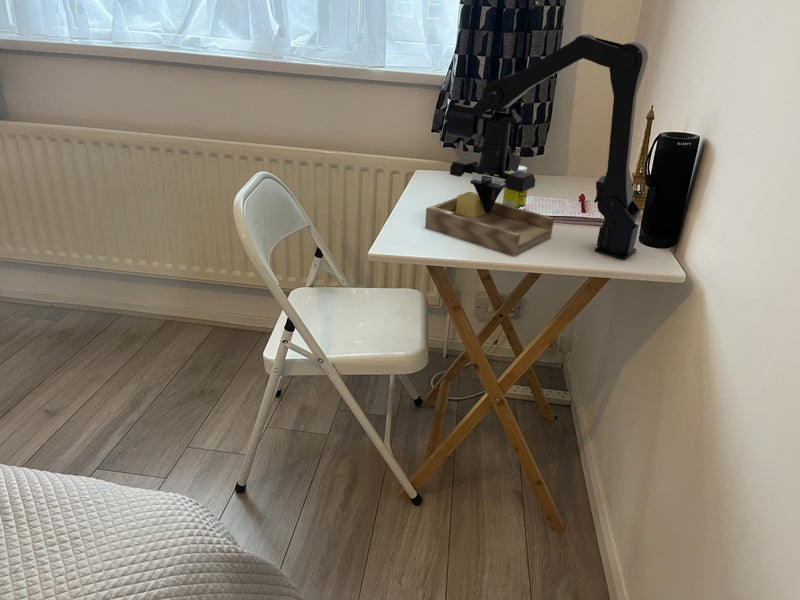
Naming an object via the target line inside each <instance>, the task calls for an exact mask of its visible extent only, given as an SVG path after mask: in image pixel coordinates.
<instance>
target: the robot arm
mask: <svg viewBox="0 0 800 600" xmlns="http://www.w3.org/2000/svg"><path fill="white" fill-rule="evenodd" d="M648 53H649V52H648V50H647V48H646V47H645V46H644V45H643V44H642V43H640V42H635V41H632V42H627V43H624V44H622V43H618V42H617V41H616V42H615V41H611V40H609V39H603V38H599V37H596V36H594V35H592V34H588V33H587V34H581V35H579V36H577V37H575V38H574V40H572V41H570V42H569V43H567V44H566V45H564V46H561V47H560V48H558V49H557V50H555V51H553V52H552V53H550V54H548V55H547V56H544V57H543V58H541V59H540V60H538V61H536V62H535V63H533V64H531V65H530V66H528V67H525V68H524V69H523V70H520V71H518V72H515V73H513V74H508V75H506V76H503V77H500V78H498V79H495V80H492V81H490V82H488V83H487V84H486V85H485V86H484V87H483V92H482V96H481V98H480V99H479V100H478V101H477V102H476V103H475V104H474V106H473V105H466V104H463V103H458V102H457V103H454V104H452V107H451V111H450V113H449V116H448V119H447V121H446V133H447V134H448V136H451V137H457V138H465V139H470V140H475V139H476V138H477V137H478V136H480V135H481V141H480V145H479V146H477V147H476V152H477V153H479V162H478V160H473V159H469V158H461V159H459V160H455V161H453V162H452V163H451V164H450V167H449V175H451V176H454V177H458V178H460V177H462V176H463V175H465V173H467V174H469V175H472V180H470V184H472V185H473V187H474V188H475V191H476V193H478V195H479V198H480V200H481V203H482V206H483V208H484V211H485V212H486V213H489V212H490V211H491V209H492V207H493V205H494V203H495V202H496V201H497V199H498V197H499V195H500V193H502V191H503V190H504V188H505V187H507V189H509V190H513V191H517V192H523V191H526V190H527V191H528V190H531V189H534V188H535V186H536V178H535V175H534V173H529V172H527V173H526V172H521V171H518V168H519V166H520V163H521V161H522V157H520V156H519V155H515V154H512V151H513V150H512V146H510V145H509V140H510V134H511V125H512V124H517V123H519V122H521V121H522V117H521V116H520V115H519V114H518V113H517V112H516V111H517V110H516V109H515V108H513V109H511V110H509V112H505V111H500V110H502V109H505V108H508V107H509V106H512V105H513V104H514V103H516V102H517V101H518V100H519V99H520V98H522V97H523V96H524V95H525V94H526V93H527V92H528V91H530V90H531V89H532V88H533V87H535V86H536V85H538V84H540V83H541V82H544V81H545V80H547V79H549V78H551V77H552V76H555V75H556V74H558V73H560V72H561V71H563V70H565V69H566V68H567V69H568V67H570V66H572V65H575V64H576V63H578V62H580V61H581V60H583V59H584V60H587V61H590V62H592V63H595V64H597V65H599V66H603V67H605V68H608V69H609V79H610V85H611V91H612V95H613V101H612V102H613V103H612V115H611V125H610V126H611V127H610V134H609V135H610V137H609V139H610V140H609V148H608V159H607V171H606V174H605V175H601V176H600V177H599V179H598V180H596V182H595V190H596V195H595V199H594V201H593V203H597V204H596V205H597V210H598V213H600V214H601V215H602V216H603V222H602V226H600V227H599V229H598V234H597V235H598V236H597V241H596V246H597V247H595V248H594V251H595V252H596V253H600V254H604V255H608V256H611V257H614V258H618V259H621V260H626V259H627V258H629V257H631V256H632V255H633V254H635V253H636V252H637V248H635V245H636V240H637V236H638V232H639V228H640V225H639V224H636V223H637V222H636V221H637V220H638V218H639V217H640V215H641V213H642V210H641V208H640V207H639V206H638V205H637V203H636V202H635V201H634V194H633V181H632V177H631V172H630V164H631V152H632V143H633V133H634V125H635V123H634V121H635V113H636V104H637V97H638V96H637V95H638V92H639V89H640V85H641V83H642V80H643V77H644V74H645V69H646V67H647V64H648V63H647V62H648V59H649V55H648ZM490 111H494V112H493V113H492V114H485V113H487V112H490ZM511 170H513V171H516V172H515V173H512V174H508V173H505V171H511ZM517 171H518V172H517ZM495 175H498V176H495Z"/></svg>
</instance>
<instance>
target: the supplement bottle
mask: <svg viewBox="0 0 800 600" xmlns="http://www.w3.org/2000/svg"><path fill="white" fill-rule="evenodd" d="M518 171H521V172H526V173H528V167H527V166H523V165H519V168H518ZM518 171H517V172H518ZM515 172H516V171H513V170H511V171H510V173H509V174H512V173H515ZM527 194H528V190H526V191H523V192H517V191H513V190H509V189H507V187H505V188H503V197H502V204H504V205H508V206H511V207H515V208H520V207H524V206H525V207H526V204H527V203H526V202H527V197H528V196H527Z"/></svg>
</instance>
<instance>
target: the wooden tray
mask: <svg viewBox="0 0 800 600" xmlns="http://www.w3.org/2000/svg"><path fill="white" fill-rule="evenodd" d="M456 206H457V197H455V198H452V199H449V200H446V201H443V202H441V203H438V204H435V205H431V206H429V207H426V208H425V209H426V210H425V224H424V225H425V227H424V228H425V229H429V230H432V231H434V232H436V233H437V232H438V233H440V234H443V235H447V236H451V237H453V238H456V239H460V240H462V241H465V242H468V243H471V244H475V245H478V246H481V247H484V248H486V247H487V248H486V249H490V250H493V251H495V252H500V253H502V254H505V255H508V256H510V257H511V256H512V257H517V256H519V255H521V254H522V253H524V252H526V251H528V250H531V249H532V248H534V247H535V246H538V245H540V244H541V243H543V242H546V241H547V240H548V241H549V239H551V238H552V233H553V226H554V222H555V221H554V220H555V218H554V217H553V216H548V215H544V214H540V213H537V212H533V211H530V210H525V209H524V210H522V209H519V208H515V207H511V206H508V205H504V204H503V203H500V202H496V201H495V203H494V205H493V207H492V209H491V211H490V212H489V213H486V214H483V215H481V216H478V217H476V218H472V217H468V216H465V215H461V214H458V213H456Z"/></svg>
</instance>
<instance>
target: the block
mask: <svg viewBox="0 0 800 600" xmlns="http://www.w3.org/2000/svg"><path fill="white" fill-rule="evenodd" d="M456 198H457V206H456V213H458V214H461V215H465V216H468V217H472V218H476V217H478V216H481V215H483V214H486V212H485V211H484V208H483V206H482V203H481V200H480V198H479V195H478V193H477V192H473V191H468V192H464V193H461V194H458V195H457V196H456Z"/></svg>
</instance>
